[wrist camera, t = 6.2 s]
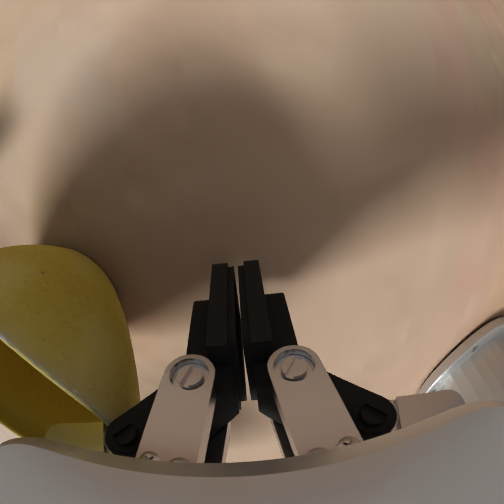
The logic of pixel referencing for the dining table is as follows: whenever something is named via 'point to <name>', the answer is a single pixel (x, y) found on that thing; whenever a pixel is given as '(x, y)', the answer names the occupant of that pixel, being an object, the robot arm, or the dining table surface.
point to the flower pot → (61, 342)
